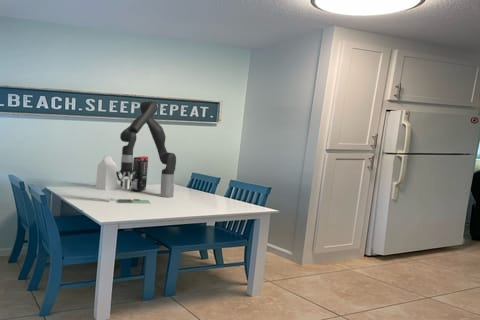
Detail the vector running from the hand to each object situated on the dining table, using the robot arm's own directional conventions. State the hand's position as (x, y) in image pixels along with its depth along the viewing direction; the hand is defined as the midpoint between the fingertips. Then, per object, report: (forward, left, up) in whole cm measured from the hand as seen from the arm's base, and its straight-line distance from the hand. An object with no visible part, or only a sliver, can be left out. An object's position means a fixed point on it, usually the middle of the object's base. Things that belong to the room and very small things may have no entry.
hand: (125, 186), depth 303 cm
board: (-5, 0, -11) cm, 12 cm away
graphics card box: (-16, -59, -11) cm, 62 cm away
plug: (0, 0, -1) cm, 1 cm away
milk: (+9, -66, -11) cm, 67 cm away
